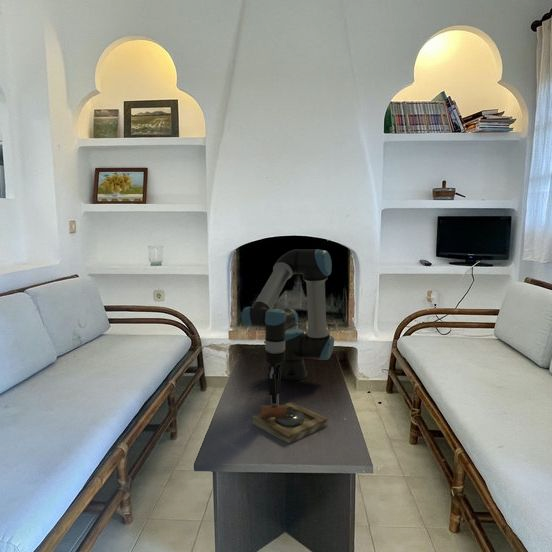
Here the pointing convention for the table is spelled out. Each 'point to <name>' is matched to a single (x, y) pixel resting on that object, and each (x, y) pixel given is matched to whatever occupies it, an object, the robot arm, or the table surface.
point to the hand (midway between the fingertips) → (274, 410)
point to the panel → (292, 433)
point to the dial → (283, 415)
